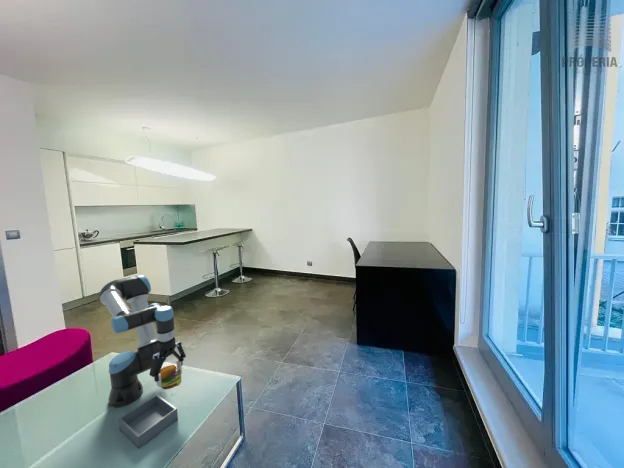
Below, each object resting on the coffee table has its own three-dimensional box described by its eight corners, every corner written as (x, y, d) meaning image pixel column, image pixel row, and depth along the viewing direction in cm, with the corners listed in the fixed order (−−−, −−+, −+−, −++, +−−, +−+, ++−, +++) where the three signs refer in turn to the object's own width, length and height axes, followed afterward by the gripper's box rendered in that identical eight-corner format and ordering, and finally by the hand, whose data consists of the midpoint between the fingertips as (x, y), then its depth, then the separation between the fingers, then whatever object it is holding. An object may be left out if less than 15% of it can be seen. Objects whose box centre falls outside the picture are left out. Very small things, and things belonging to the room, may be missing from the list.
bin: (119, 430, 122) (118, 418, 121) (158, 404, 137) (156, 394, 136) (139, 449, 113) (137, 437, 112) (178, 419, 128) (177, 408, 127)
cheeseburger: (174, 392, 125) (167, 374, 124) (155, 394, 128) (148, 376, 126) (187, 377, 135) (181, 360, 134) (169, 379, 137) (163, 362, 136)
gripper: (147, 352, 116) (151, 397, 119) (191, 329, 135) (194, 368, 139) (137, 347, 119) (141, 391, 123) (182, 325, 139) (185, 363, 143)
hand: (169, 378), depth 131 cm, fingers closed on cheeseburger, 10 cm apart
